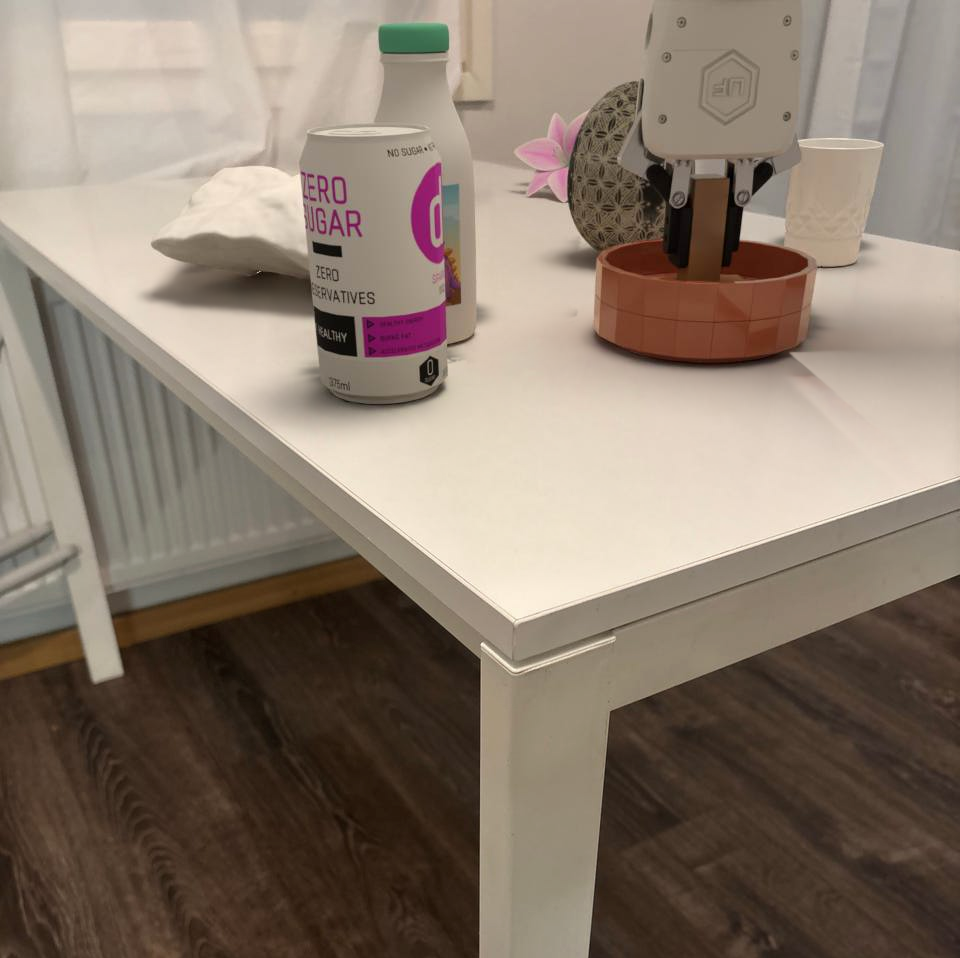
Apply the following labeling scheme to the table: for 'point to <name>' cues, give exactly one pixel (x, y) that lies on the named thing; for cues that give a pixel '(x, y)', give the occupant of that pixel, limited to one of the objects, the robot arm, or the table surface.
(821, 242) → the white cup
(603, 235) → the decorative egg
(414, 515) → the table surface
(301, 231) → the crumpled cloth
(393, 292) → the supplement can
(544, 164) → the lily
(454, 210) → the milk bottle
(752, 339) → the bowl
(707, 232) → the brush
